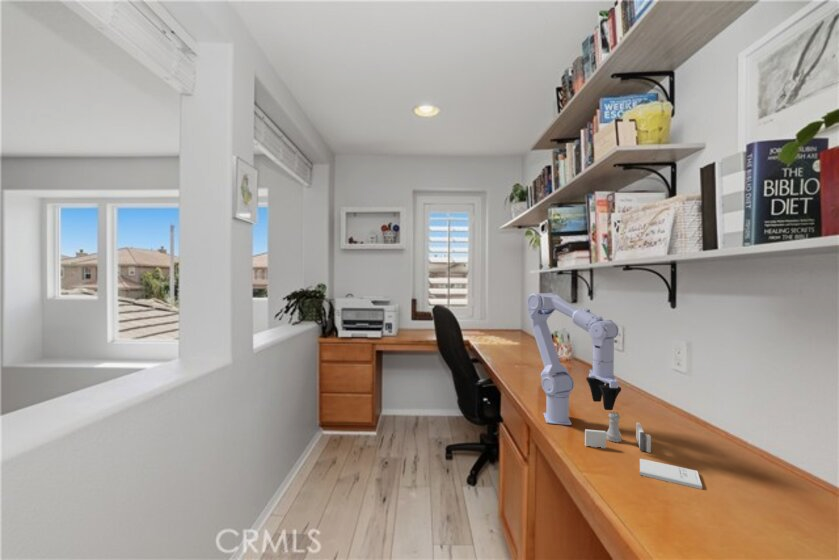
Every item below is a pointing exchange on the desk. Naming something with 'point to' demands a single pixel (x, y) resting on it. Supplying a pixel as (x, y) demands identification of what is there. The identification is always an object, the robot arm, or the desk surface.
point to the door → (640, 436)
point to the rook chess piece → (614, 428)
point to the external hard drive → (670, 473)
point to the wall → (599, 439)
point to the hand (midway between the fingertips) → (602, 405)
